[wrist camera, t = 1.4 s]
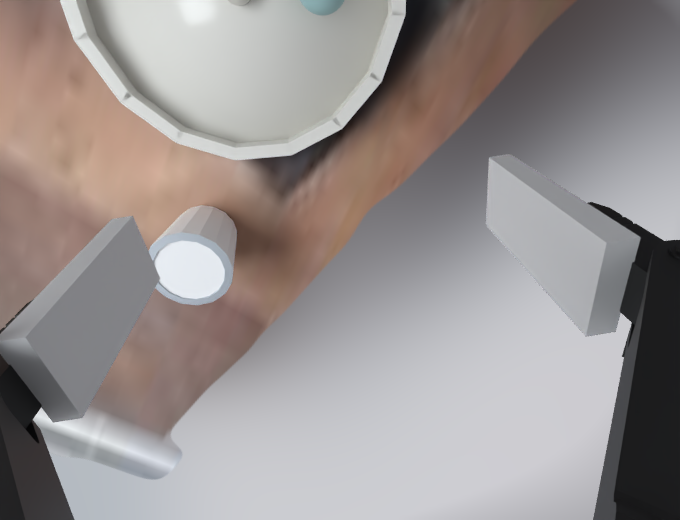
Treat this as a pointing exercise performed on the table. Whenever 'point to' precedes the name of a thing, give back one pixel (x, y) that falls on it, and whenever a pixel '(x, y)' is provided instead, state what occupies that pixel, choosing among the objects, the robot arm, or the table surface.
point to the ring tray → (239, 66)
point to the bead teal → (322, 6)
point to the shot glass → (196, 256)
